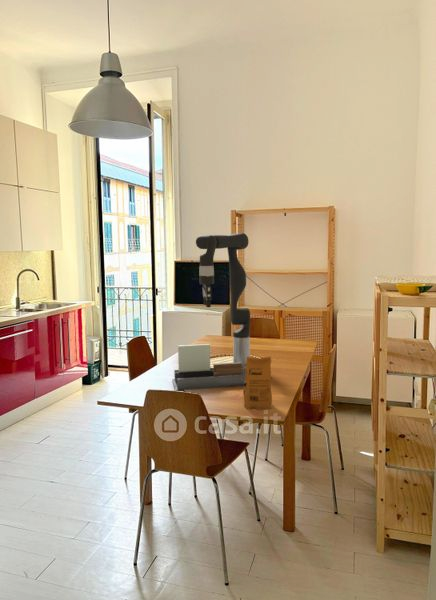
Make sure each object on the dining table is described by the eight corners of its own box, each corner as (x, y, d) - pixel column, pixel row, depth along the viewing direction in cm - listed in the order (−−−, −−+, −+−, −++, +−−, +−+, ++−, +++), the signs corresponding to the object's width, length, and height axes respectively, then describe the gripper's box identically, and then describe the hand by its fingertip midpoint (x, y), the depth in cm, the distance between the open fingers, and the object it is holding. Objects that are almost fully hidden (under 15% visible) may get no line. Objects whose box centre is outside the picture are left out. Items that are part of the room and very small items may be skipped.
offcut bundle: (213, 381, 240) (213, 363, 239) (240, 379, 243) (240, 362, 241) (215, 384, 234) (215, 367, 233) (243, 383, 237) (243, 365, 236)
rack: (172, 381, 245) (172, 369, 244) (244, 377, 252) (244, 365, 251) (175, 393, 227) (175, 380, 226) (253, 388, 233) (253, 375, 232)
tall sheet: (178, 380, 243) (178, 345, 240) (209, 378, 245) (209, 343, 243) (179, 381, 241) (178, 346, 239) (210, 379, 244) (210, 344, 241)
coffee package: (243, 401, 215) (243, 353, 212) (271, 401, 215) (271, 353, 212) (243, 409, 206) (242, 359, 203) (272, 409, 205) (272, 359, 202)
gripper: (197, 273, 250) (198, 304, 253) (201, 275, 236) (201, 308, 239) (211, 273, 252) (212, 303, 254) (216, 275, 238) (216, 307, 240)
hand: (207, 306), depth 246 cm, fingers open, 8 cm apart
